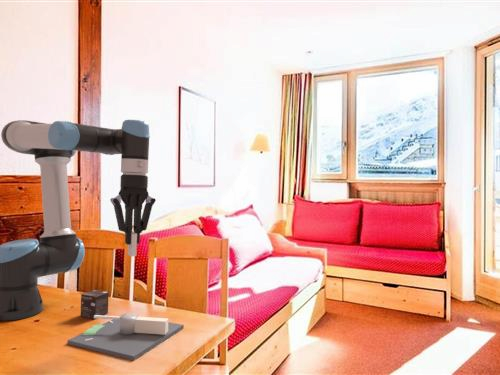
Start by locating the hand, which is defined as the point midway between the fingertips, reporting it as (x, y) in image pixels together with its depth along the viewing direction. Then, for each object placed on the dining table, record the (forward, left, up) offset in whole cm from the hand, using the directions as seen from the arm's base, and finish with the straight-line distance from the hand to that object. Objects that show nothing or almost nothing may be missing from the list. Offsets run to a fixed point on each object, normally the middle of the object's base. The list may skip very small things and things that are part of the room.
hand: (131, 255), depth 106 cm
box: (-19, +5, -22) cm, 30 cm away
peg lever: (+2, -3, -21) cm, 21 cm away
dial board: (+2, -3, -22) cm, 22 cm away
